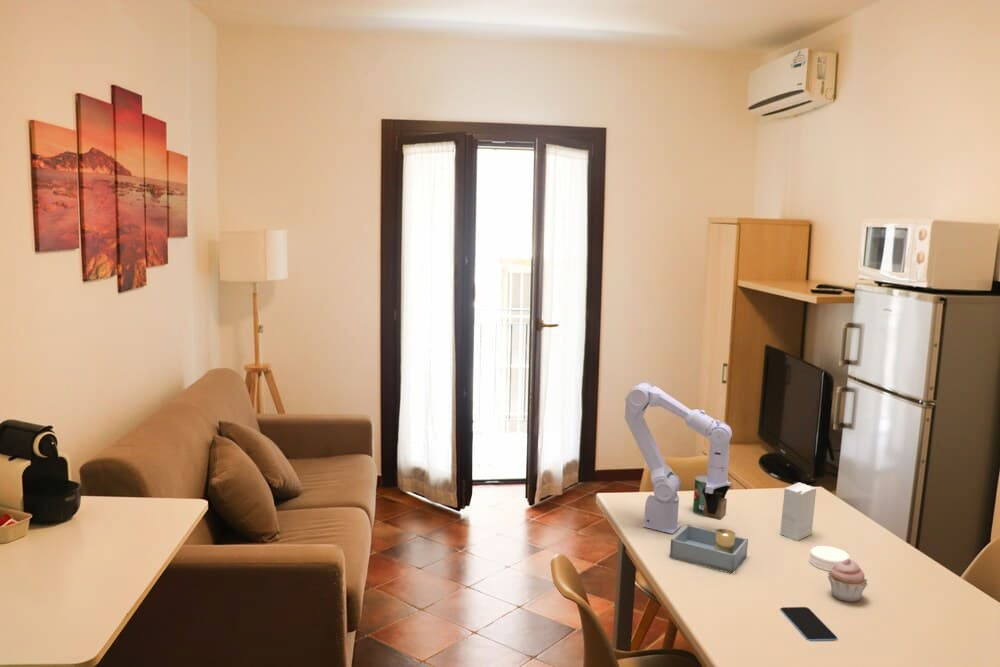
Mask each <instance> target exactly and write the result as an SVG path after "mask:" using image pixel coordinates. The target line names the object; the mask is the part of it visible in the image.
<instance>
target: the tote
mask: <svg viewBox="0 0 1000 667" xmlns="http://www.w3.org/2000/svg"><path fill="white" fill-rule="evenodd" d="M715 538H716V530H715V531H714V530H711V529H706V528H703V527H698V526H695V525H694V526H693V525H689V524H687V525H686V526H684V527H683V529H681V530H680V531H679V532H678V533H677V534H675V535H674V536H673V538H671V539H670V549H669V558H672V559H675V560H679V561H683V562H687V563H690V564H694V565H697V564H698V565H697V566H701V565H702V566H703V567H705V566H706V568H709V567H710V569H713V568H714V569H713V570H717V569H718V570H717V571H720V570H723V571H722V572H724V571H727V572H726V573H728V572H730V573H729V574H732V573H733V572H734V571H735V572H736V571H737V570H738V568H739V567H740V565H741V564H742V563H743V562H744V560H745V559H746V558H747V555H748V544H749V539H748V538H743V537H739V536H736V535H735V543H734V553H733V554H730V553H726V552H722V551H718V550H715ZM742 561H743V562H742ZM702 566H701V567H702ZM738 566H739V567H738ZM735 572H734V573H735ZM734 573H733V574H734Z"/></svg>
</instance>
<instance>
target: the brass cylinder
mask: <svg viewBox="0 0 1000 667" xmlns="http://www.w3.org/2000/svg"><path fill="white" fill-rule="evenodd" d="M715 532H716V538H715V550H718V551H722V552H726V553H730V554H733V553H734V543H735V536H736V532H734V531H733V530H730V529H727V528H718V529H716V530H715Z"/></svg>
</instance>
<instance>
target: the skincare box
mask: <svg viewBox="0 0 1000 667" xmlns="http://www.w3.org/2000/svg"><path fill="white" fill-rule="evenodd" d="M816 495H817V487H814V486H812V485H807V484H806V483H802V482H799V481H798V482H796V483H793V484H792V485H789V486H786V487H785V488H784V493H783V503H782V514H781V523H780V535H781V536H783V535H784V537H787V538H789V539H792V540H794V541H796V542H797V541H799V540H802V539H804V538H806V537H808V536H811V535H812V534H813V523H814V514H815V505H816Z"/></svg>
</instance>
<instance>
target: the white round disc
mask: <svg viewBox="0 0 1000 667" xmlns="http://www.w3.org/2000/svg"><path fill="white" fill-rule="evenodd" d="M809 552H810V554H809V563H810V564H811V565H812V566H814V567H815V568H817V569H819V570H822V571H826V572H831V569H832V568H833V567H834V566H835V564H836V563H838V562H844V561H845V560H846V559H851V557H850V554H849V553H847V551H845V550H843V549H841V548H838V547H835V546H834V547H833V546H828V545H818V546H816V545H815V546H814V547H812V548H810V551H809Z"/></svg>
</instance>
